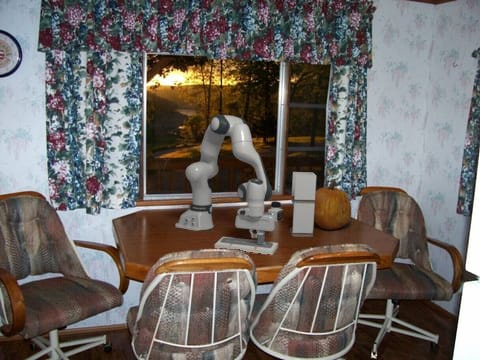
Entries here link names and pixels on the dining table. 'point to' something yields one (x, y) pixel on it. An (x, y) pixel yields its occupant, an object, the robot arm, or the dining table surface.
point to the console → (246, 245)
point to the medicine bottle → (276, 210)
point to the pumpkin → (331, 207)
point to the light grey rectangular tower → (303, 203)
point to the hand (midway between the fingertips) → (254, 237)
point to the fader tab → (261, 238)
